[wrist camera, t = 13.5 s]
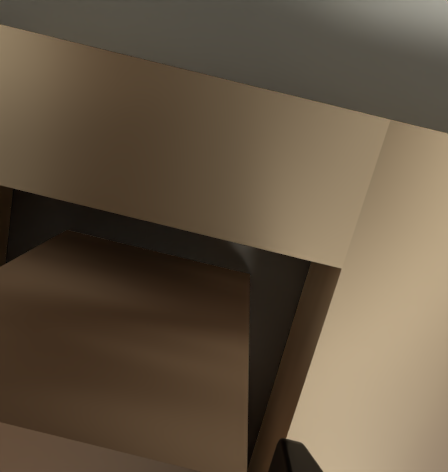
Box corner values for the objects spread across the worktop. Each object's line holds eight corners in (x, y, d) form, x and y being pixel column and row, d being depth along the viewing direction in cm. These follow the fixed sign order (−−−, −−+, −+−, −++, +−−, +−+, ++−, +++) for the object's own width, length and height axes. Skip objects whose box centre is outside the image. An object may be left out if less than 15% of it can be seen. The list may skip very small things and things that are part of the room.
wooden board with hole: (749, 217, 9) (927, 250, 7) (462, 714, 13) (509, 842, 11) (-181, -10, 9) (-334, -58, 7) (-172, 558, 13) (-264, 652, 11)
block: (250, 273, 10) (246, 483, 4) (209, 428, 11) (160, 763, 5) (67, 229, 10) (-194, 375, 4) (45, 388, 11) (-185, 677, 5)
